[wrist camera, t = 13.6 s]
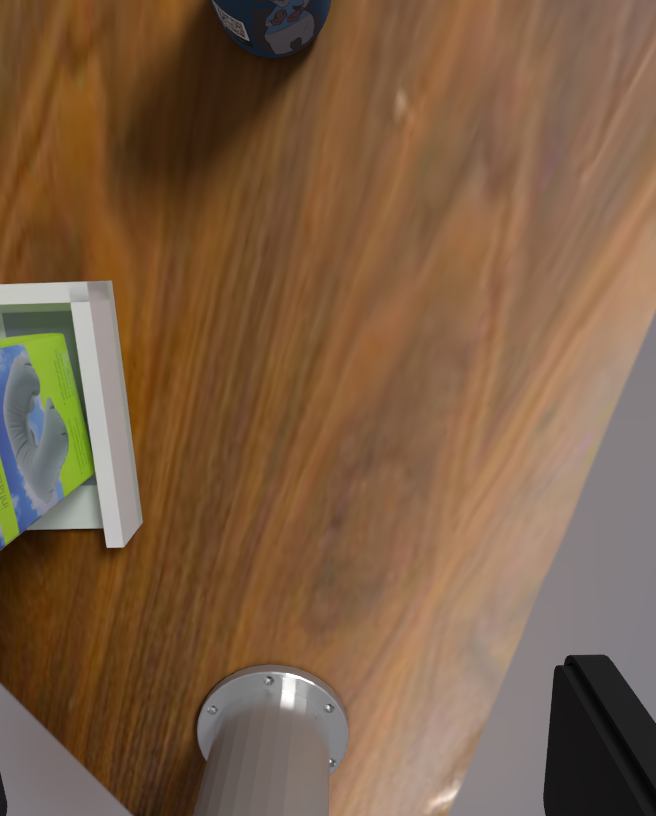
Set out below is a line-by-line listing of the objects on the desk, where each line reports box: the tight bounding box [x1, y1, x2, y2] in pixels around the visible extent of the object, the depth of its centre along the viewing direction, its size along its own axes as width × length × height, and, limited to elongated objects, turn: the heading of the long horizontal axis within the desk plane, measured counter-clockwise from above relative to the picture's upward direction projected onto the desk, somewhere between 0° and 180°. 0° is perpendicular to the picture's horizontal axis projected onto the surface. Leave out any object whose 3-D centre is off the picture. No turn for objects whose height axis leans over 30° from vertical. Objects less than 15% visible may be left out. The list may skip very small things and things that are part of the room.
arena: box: [0, 281, 143, 548], centre depth 37 cm, size 18×14×4 cm
